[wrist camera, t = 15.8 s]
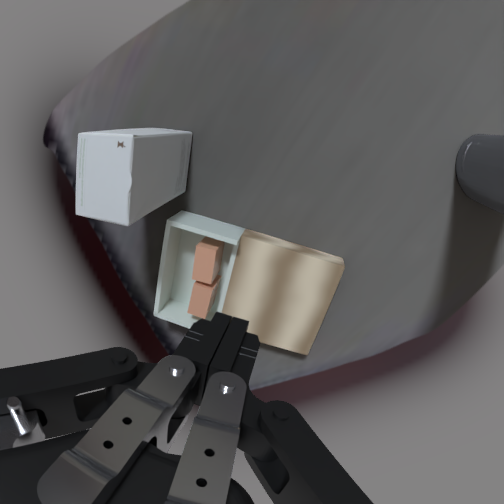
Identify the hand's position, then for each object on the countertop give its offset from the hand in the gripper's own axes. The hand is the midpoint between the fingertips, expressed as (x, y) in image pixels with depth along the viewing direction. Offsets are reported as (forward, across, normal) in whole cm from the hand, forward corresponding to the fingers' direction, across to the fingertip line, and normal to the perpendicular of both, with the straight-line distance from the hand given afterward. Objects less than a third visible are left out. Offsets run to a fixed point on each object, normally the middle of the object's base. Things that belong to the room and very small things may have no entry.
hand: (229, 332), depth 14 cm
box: (+27, +9, +11) cm, 31 cm away
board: (+28, -2, +11) cm, 30 cm away
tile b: (+25, +6, +13) cm, 29 cm away
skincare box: (+27, +16, -3) cm, 32 cm away
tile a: (+25, +6, +8) cm, 27 cm away
